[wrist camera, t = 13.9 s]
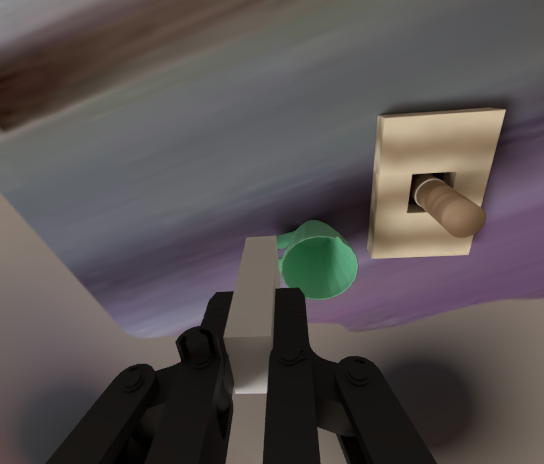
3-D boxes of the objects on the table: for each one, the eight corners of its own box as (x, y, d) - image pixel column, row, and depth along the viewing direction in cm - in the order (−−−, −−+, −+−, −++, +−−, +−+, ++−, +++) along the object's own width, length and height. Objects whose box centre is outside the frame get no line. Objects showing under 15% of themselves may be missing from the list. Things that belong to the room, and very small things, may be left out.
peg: (408, 172, 43) (449, 204, 32) (439, 171, 42) (491, 202, 32) (404, 200, 45) (442, 239, 34) (433, 199, 44) (481, 237, 34)
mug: (344, 201, 45) (359, 232, 36) (344, 257, 49) (358, 297, 41) (246, 210, 46) (237, 242, 37) (255, 264, 51) (249, 304, 42)
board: (378, 115, 39) (384, 118, 37) (490, 107, 39) (505, 109, 36) (367, 248, 49) (371, 258, 46) (458, 244, 48) (468, 254, 45)
